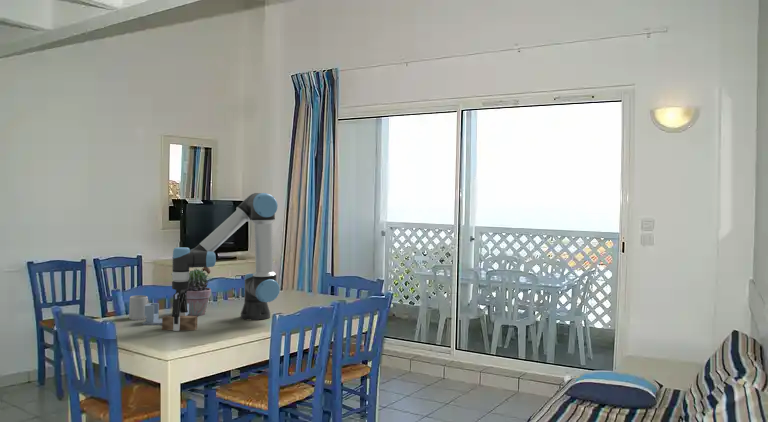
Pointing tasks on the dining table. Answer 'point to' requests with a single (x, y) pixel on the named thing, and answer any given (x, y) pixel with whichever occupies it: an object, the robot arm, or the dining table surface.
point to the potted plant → (198, 292)
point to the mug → (137, 307)
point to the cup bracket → (155, 314)
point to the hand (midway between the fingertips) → (179, 328)
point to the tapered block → (185, 322)
